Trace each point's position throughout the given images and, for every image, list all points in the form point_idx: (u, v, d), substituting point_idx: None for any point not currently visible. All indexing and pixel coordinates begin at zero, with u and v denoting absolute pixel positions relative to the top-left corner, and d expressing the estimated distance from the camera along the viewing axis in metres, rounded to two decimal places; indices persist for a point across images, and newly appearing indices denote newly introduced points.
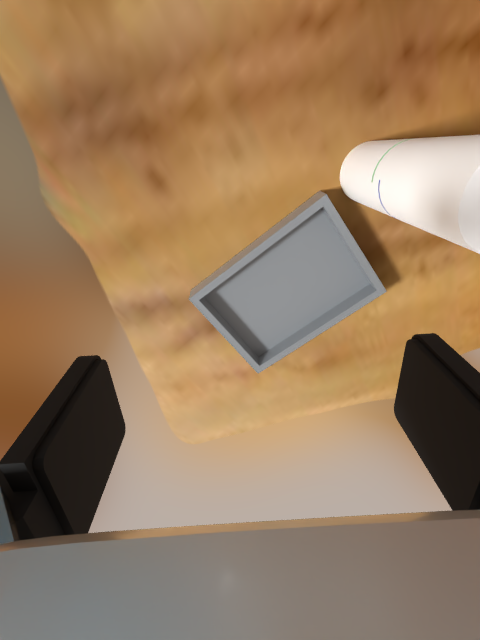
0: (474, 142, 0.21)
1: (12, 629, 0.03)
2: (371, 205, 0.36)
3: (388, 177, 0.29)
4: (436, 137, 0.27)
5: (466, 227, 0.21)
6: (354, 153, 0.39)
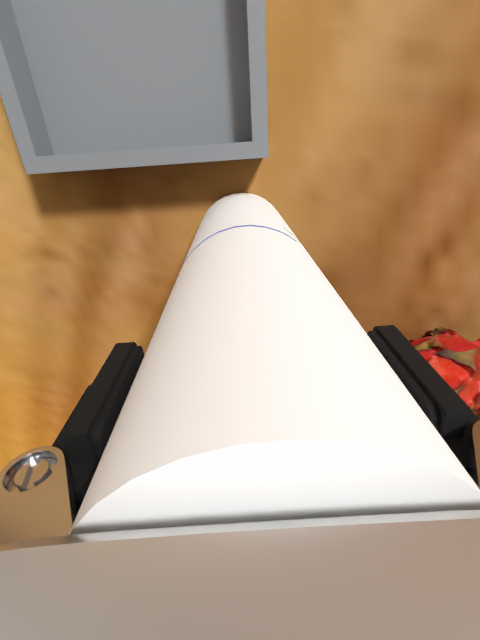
0: None
1: (12, 629, 0.03)
2: (229, 213, 0.19)
3: (308, 256, 0.14)
4: None
5: (309, 463, 0.04)
6: None
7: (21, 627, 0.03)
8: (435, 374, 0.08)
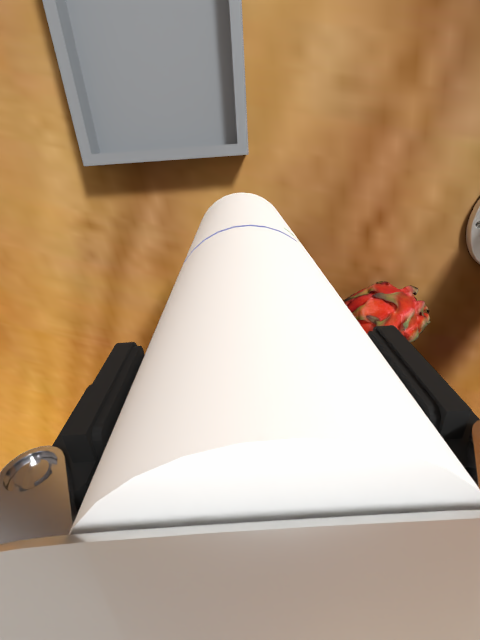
0: None
1: (12, 629, 0.03)
2: (229, 213, 0.19)
3: (308, 255, 0.14)
4: None
5: (308, 461, 0.04)
6: None
7: (21, 627, 0.03)
8: (435, 374, 0.08)
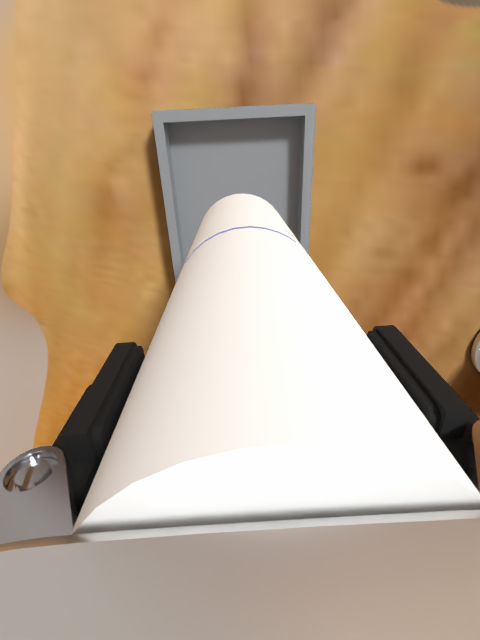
0: None
1: (12, 629, 0.03)
2: (229, 214, 0.19)
3: (308, 257, 0.14)
4: None
5: (309, 467, 0.04)
6: None
7: (21, 627, 0.03)
8: (435, 374, 0.08)
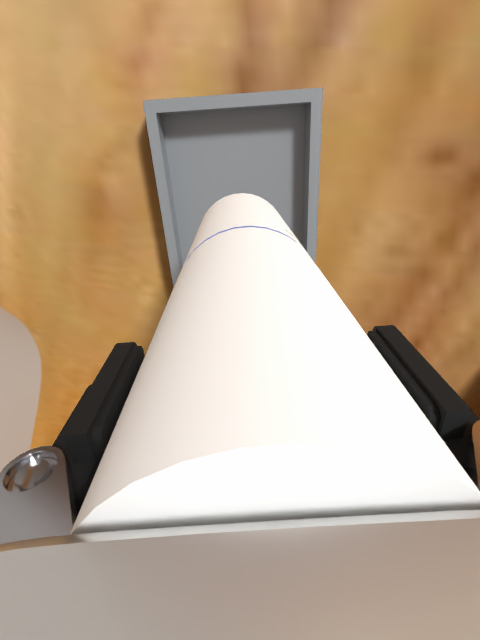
0: None
1: (12, 629, 0.03)
2: (229, 213, 0.19)
3: (308, 256, 0.14)
4: None
5: (309, 467, 0.04)
6: None
7: (21, 627, 0.03)
8: (435, 374, 0.08)
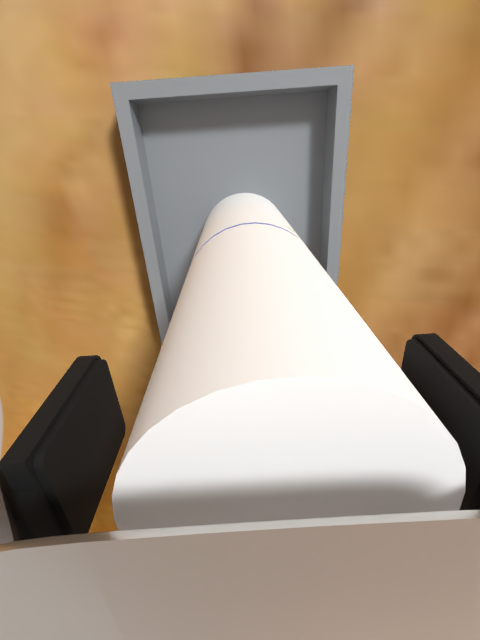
0: None
1: (12, 629, 0.03)
2: (235, 211, 0.20)
3: (308, 250, 0.15)
4: None
5: (310, 396, 0.05)
6: None
7: (21, 627, 0.03)
8: None
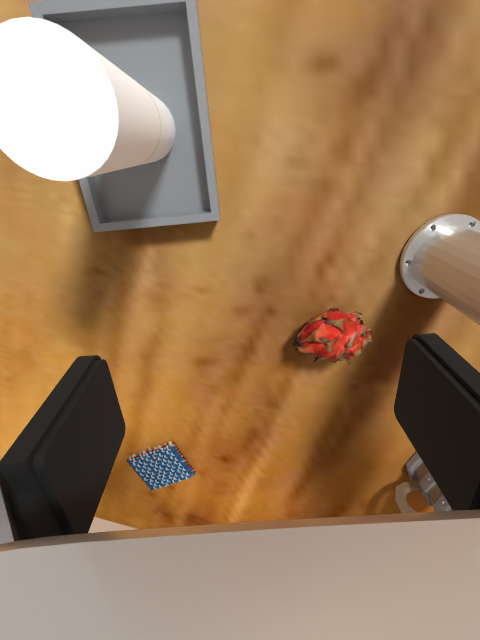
0: (131, 115, 0.20)
1: (12, 629, 0.03)
2: None
3: None
4: (150, 142, 0.27)
5: (32, 28, 0.16)
6: (170, 116, 0.37)
7: (21, 627, 0.03)
8: None
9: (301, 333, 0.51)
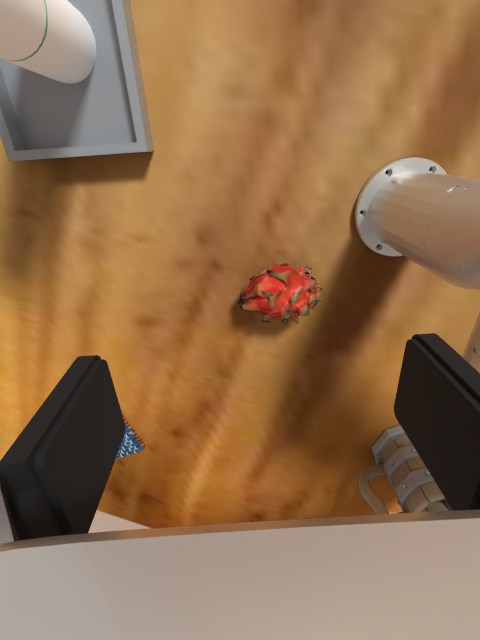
0: None
1: (12, 629, 0.03)
2: None
3: None
4: (16, 12, 0.23)
5: None
6: (84, 24, 0.34)
7: (21, 627, 0.03)
8: None
9: (246, 289, 0.47)
